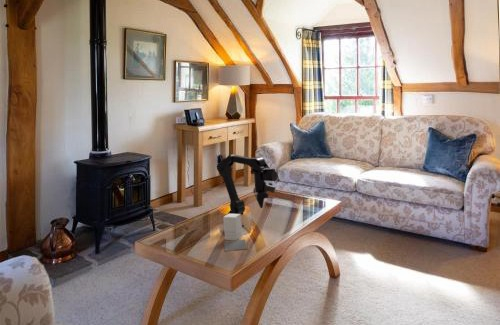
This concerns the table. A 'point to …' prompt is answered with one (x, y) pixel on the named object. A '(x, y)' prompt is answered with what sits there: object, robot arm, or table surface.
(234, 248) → the mat
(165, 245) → the table surface
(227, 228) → the supplement box
